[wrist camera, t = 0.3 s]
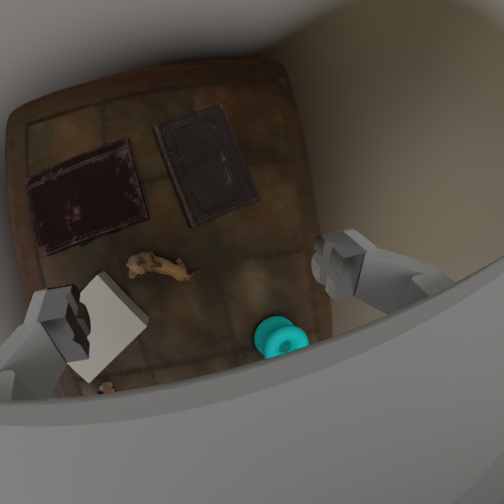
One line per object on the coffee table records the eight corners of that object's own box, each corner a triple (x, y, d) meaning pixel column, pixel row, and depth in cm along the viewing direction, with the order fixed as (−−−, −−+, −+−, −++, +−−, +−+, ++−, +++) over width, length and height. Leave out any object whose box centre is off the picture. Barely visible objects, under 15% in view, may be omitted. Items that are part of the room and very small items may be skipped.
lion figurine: (130, 272, 58) (123, 279, 49) (133, 247, 58) (126, 250, 49) (197, 281, 62) (201, 290, 53) (201, 257, 62) (205, 261, 53)
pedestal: (149, 317, 59) (147, 326, 54) (94, 371, 57) (88, 383, 51) (104, 270, 56) (97, 274, 50) (51, 328, 53) (42, 337, 48)
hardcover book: (220, 108, 60) (221, 104, 58) (257, 200, 64) (260, 199, 62) (152, 131, 57) (151, 127, 55) (189, 228, 61) (190, 228, 59)
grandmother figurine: (118, 400, 59) (111, 431, 46) (104, 400, 58) (94, 430, 45) (112, 373, 58) (102, 402, 46) (97, 373, 57) (84, 401, 45)
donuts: (288, 318, 57) (319, 343, 60) (271, 306, 67) (300, 329, 69) (255, 356, 56) (289, 379, 58) (243, 339, 66) (274, 360, 68)
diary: (32, 180, 50) (23, 176, 46) (130, 141, 56) (126, 134, 51) (50, 259, 53) (41, 261, 48) (151, 222, 59) (149, 221, 54)
